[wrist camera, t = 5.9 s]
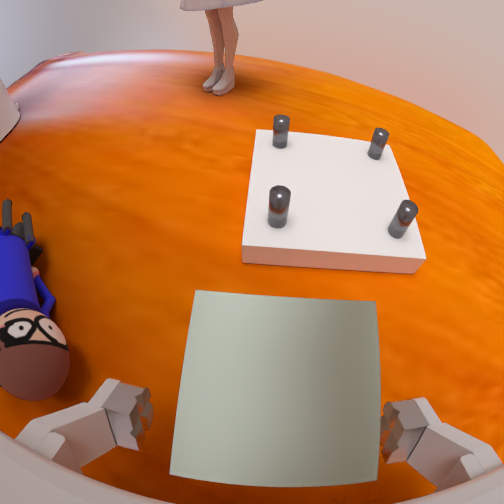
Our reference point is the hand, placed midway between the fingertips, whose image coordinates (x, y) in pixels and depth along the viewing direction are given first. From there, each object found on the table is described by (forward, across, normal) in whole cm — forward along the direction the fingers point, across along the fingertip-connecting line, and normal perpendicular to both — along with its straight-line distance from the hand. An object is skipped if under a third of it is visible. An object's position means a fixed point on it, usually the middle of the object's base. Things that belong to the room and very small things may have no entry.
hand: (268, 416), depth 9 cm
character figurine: (+7, +16, +2) cm, 18 cm away
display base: (+15, -4, -7) cm, 17 cm away
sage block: (+5, 0, +4) cm, 6 cm away
